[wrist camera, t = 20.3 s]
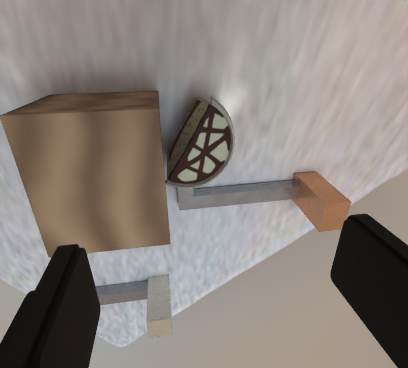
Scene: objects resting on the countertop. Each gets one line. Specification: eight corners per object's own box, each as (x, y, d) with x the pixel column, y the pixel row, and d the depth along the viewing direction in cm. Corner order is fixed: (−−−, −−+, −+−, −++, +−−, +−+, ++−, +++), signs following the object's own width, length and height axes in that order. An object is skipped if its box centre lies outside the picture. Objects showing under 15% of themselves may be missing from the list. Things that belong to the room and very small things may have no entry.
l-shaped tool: (168, 274, 54) (171, 318, 45) (170, 289, 55) (172, 334, 47) (73, 286, 51) (55, 335, 42) (78, 301, 53) (62, 351, 44)
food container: (196, 175, 45) (206, 205, 36) (163, 159, 43) (164, 187, 34) (236, 108, 41) (257, 124, 32) (201, 88, 39) (214, 99, 30)
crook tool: (323, 135, 45) (363, 159, 36) (311, 195, 50) (343, 228, 42) (174, 145, 42) (179, 174, 33) (178, 208, 47) (184, 247, 39)
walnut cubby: (158, 91, 38) (158, 109, 27) (167, 194, 46) (170, 244, 34) (50, 94, 36) (-1, 115, 25) (77, 202, 44) (48, 257, 32)
